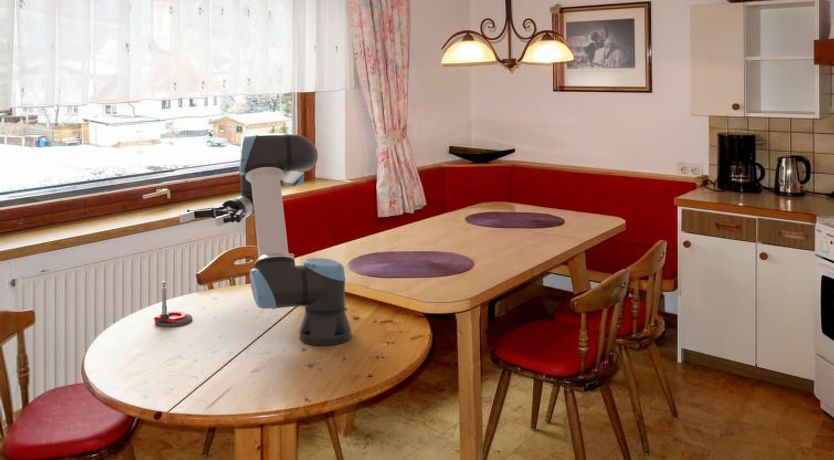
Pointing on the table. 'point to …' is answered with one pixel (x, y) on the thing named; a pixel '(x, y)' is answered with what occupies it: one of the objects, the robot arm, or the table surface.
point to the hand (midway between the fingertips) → (198, 220)
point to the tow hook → (165, 315)
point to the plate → (177, 323)
